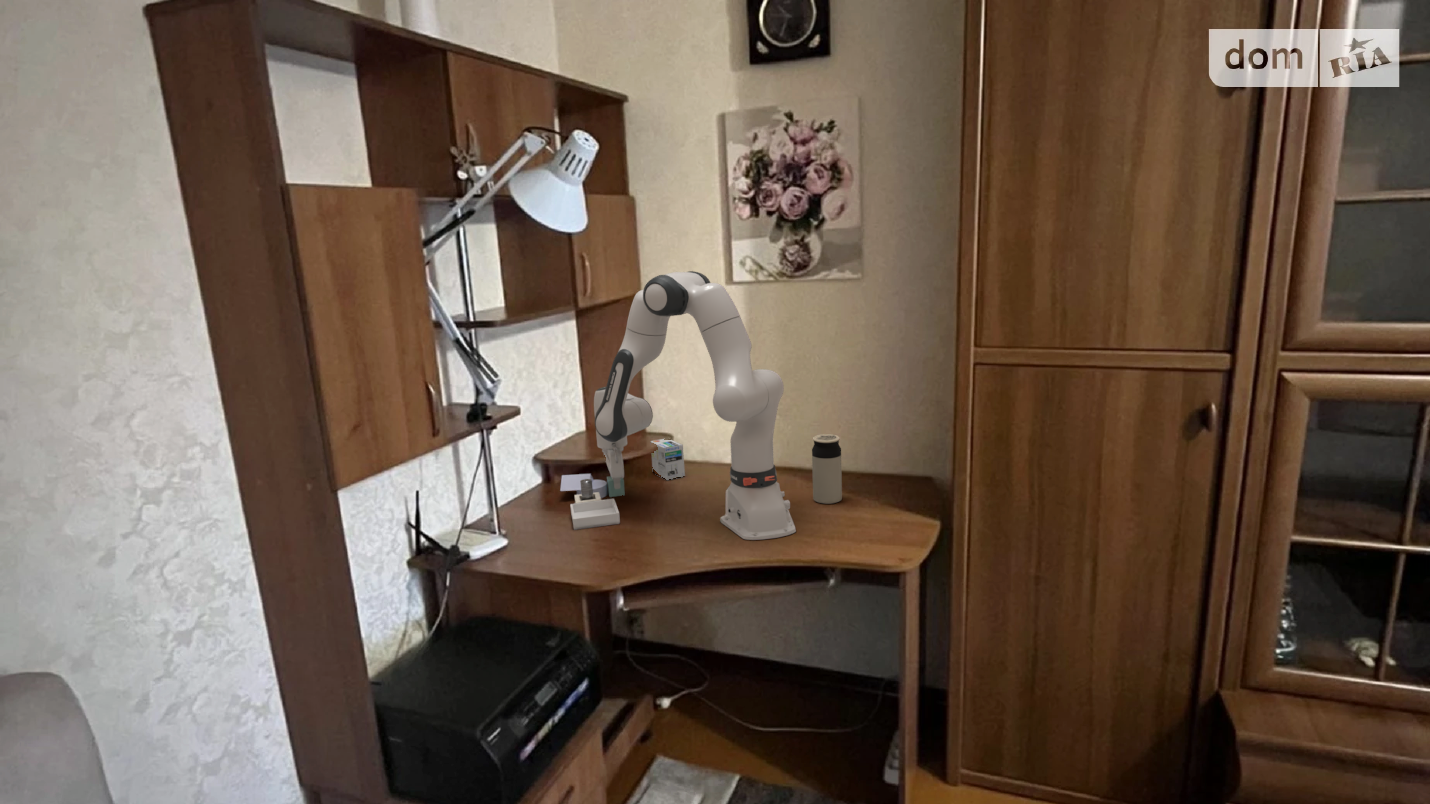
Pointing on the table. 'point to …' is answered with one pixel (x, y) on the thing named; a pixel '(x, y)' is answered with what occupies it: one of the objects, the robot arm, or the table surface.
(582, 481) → the pin
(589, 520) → the tray
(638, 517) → the table surface
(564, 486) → the wedge on round base
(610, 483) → the block
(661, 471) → the light bulb box
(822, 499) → the travel mug
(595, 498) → the socket block
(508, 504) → the table surface
